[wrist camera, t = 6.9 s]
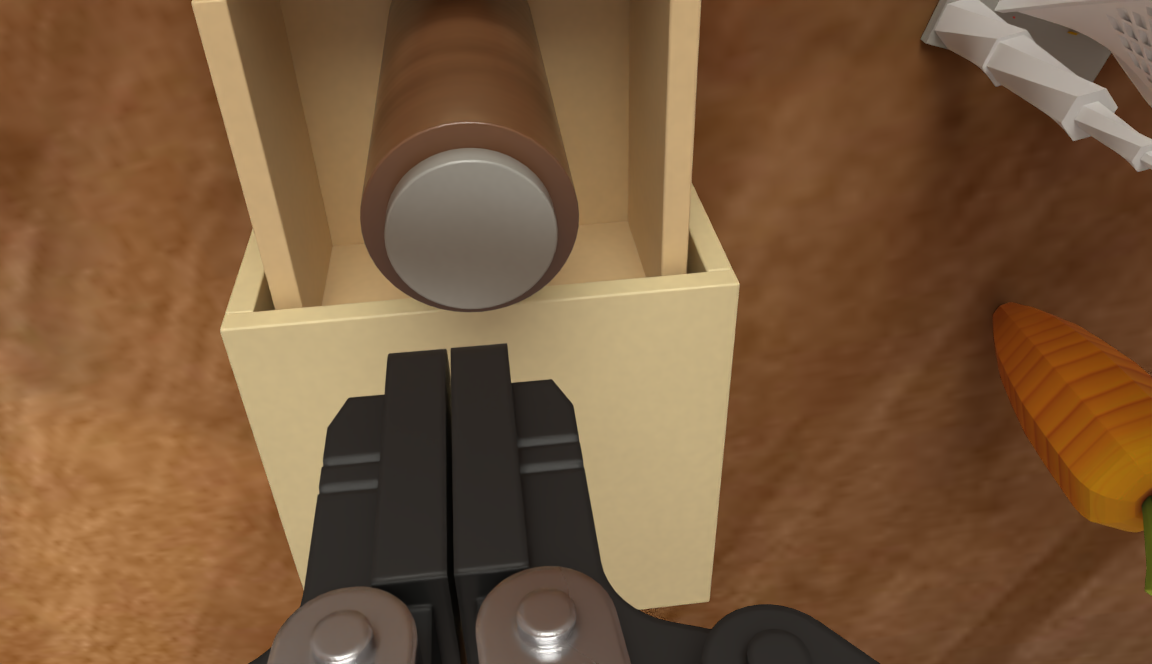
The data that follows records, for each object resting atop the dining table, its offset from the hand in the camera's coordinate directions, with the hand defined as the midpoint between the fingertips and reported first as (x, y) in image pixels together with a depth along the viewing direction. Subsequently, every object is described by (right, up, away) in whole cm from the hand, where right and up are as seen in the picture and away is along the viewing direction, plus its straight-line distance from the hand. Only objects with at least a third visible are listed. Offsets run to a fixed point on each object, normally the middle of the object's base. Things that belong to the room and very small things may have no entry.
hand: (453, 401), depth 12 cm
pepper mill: (-2, +10, +16) cm, 19 cm away
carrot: (+20, +2, +28) cm, 35 cm away
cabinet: (-2, +1, +26) cm, 26 cm away
